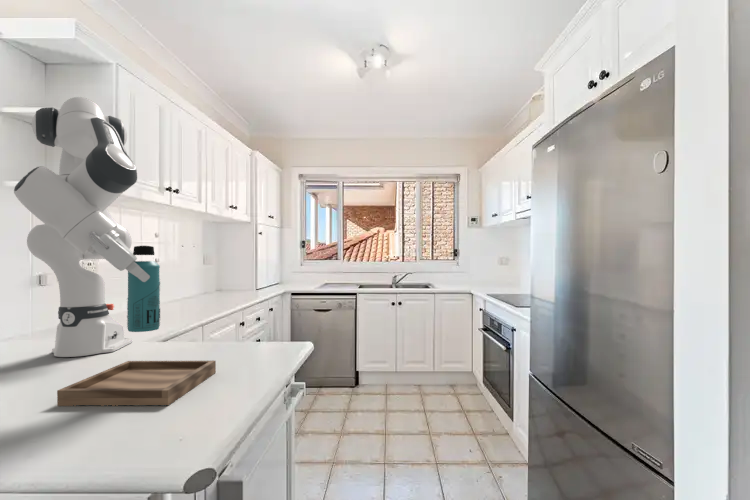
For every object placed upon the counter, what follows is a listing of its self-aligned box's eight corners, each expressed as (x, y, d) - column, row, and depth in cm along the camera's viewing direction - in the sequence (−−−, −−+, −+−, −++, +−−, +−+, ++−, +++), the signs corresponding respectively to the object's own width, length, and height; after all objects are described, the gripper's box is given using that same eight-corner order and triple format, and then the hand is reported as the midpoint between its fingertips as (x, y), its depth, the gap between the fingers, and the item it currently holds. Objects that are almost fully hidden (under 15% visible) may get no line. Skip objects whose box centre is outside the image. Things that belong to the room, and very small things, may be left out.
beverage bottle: (146, 339, 88) (147, 245, 88) (118, 338, 89) (119, 245, 89) (166, 334, 94) (167, 245, 94) (141, 333, 95) (141, 246, 96)
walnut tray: (128, 373, 103) (128, 360, 103) (215, 372, 102) (215, 360, 102) (57, 405, 81) (57, 390, 81) (168, 405, 80) (167, 390, 80)
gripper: (101, 220, 79) (159, 269, 84) (110, 226, 97) (158, 267, 102) (73, 243, 77) (134, 293, 82) (87, 245, 95) (137, 286, 100)
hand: (147, 278), depth 92 cm, fingers closed on beverage bottle, 6 cm apart
